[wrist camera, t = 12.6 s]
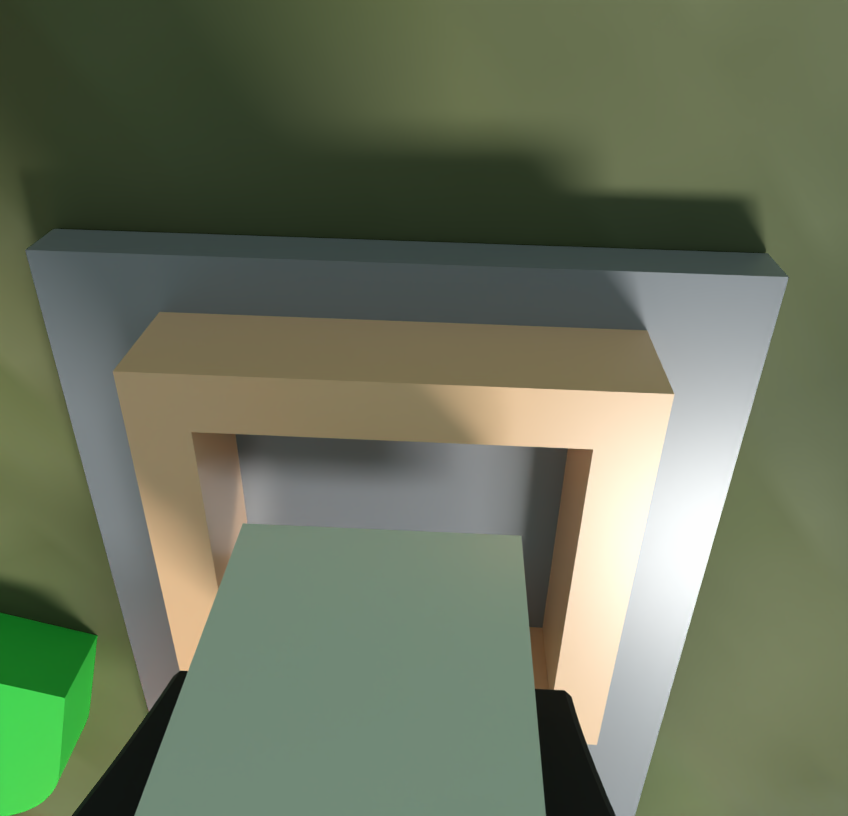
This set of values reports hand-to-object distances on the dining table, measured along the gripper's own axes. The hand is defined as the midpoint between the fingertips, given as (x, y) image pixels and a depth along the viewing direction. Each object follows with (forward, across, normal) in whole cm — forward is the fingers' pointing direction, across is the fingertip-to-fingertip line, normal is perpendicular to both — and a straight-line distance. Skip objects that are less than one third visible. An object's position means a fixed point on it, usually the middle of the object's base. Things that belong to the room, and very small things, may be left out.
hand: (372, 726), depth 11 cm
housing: (+6, 0, +5) cm, 8 cm away
